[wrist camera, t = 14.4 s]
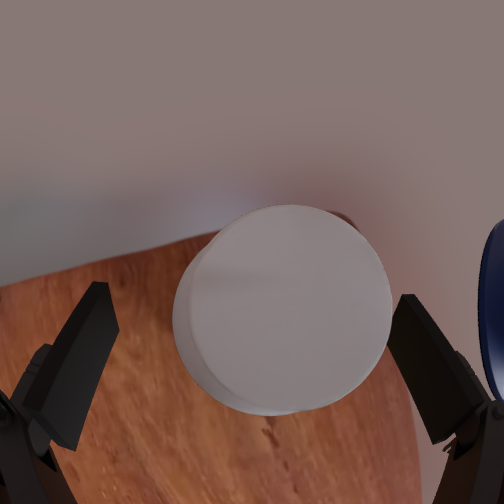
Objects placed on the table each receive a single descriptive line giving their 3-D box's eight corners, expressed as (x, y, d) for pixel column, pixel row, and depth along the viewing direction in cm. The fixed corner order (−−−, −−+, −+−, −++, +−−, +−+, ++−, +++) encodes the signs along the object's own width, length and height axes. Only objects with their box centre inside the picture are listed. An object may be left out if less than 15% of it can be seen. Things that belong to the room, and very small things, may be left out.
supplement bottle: (318, 352, 18) (457, 360, 6) (225, 395, 17) (222, 498, 4) (276, 262, 20) (347, 141, 7) (183, 301, 18) (104, 226, 6)
